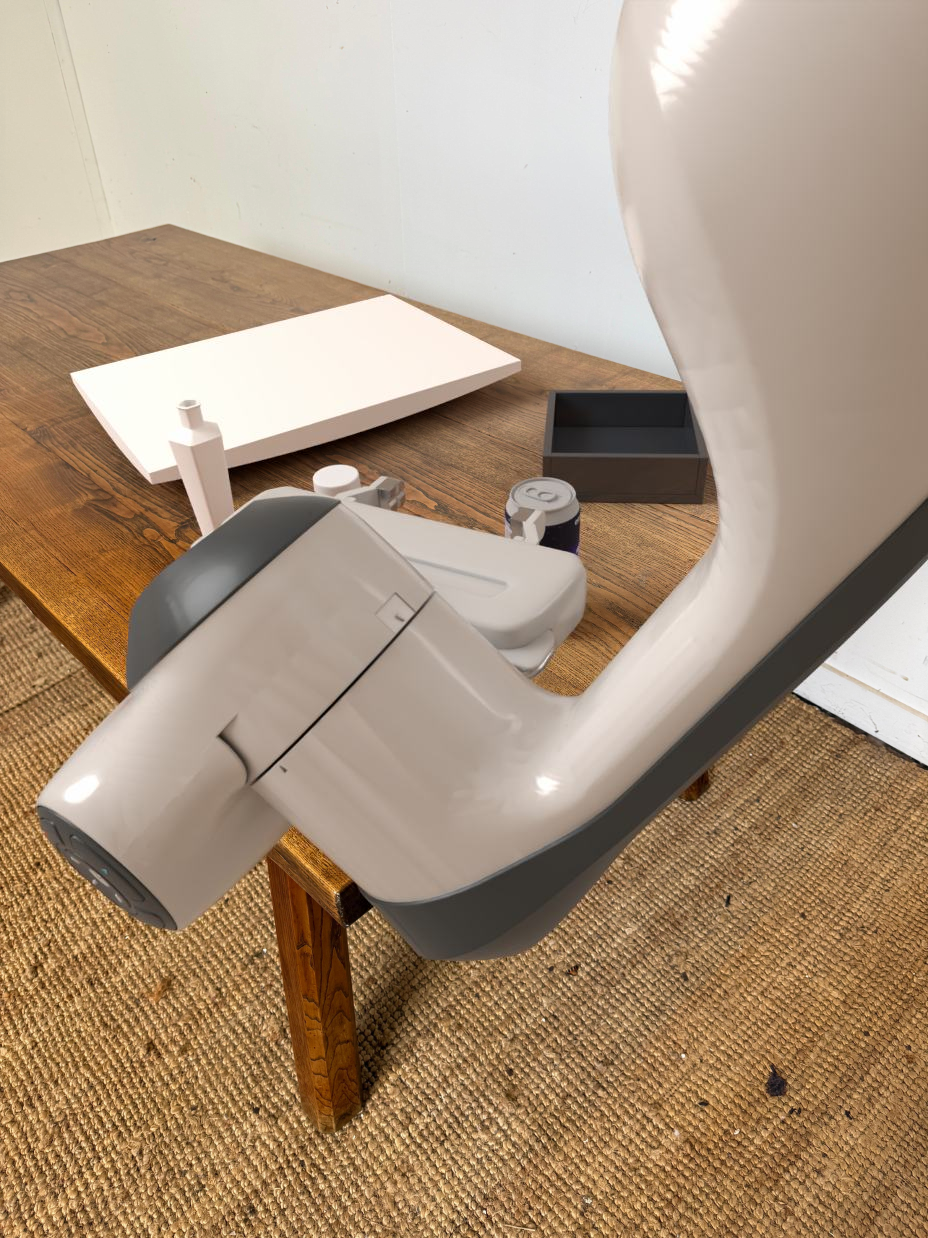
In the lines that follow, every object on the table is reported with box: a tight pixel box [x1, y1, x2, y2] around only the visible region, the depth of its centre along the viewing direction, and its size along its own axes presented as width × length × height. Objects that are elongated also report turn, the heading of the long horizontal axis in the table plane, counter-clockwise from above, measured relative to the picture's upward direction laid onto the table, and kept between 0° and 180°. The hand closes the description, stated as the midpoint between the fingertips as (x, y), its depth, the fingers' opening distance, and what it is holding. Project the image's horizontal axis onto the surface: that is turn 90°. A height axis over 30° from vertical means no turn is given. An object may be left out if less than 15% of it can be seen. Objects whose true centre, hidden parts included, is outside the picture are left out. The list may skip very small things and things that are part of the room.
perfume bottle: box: [168, 398, 235, 536], centre depth 79 cm, size 5×4×15 cm
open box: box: [541, 389, 710, 505], centre depth 91 cm, size 16×16×5 cm
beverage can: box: [504, 476, 582, 558], centre depth 69 cm, size 6×6×12 cm
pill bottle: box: [312, 464, 362, 497], centre depth 78 cm, size 5×5×9 cm
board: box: [69, 293, 522, 485], centre depth 108 cm, size 45×32×5 cm
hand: (462, 502), depth 53 cm, fingers open, 8 cm apart
